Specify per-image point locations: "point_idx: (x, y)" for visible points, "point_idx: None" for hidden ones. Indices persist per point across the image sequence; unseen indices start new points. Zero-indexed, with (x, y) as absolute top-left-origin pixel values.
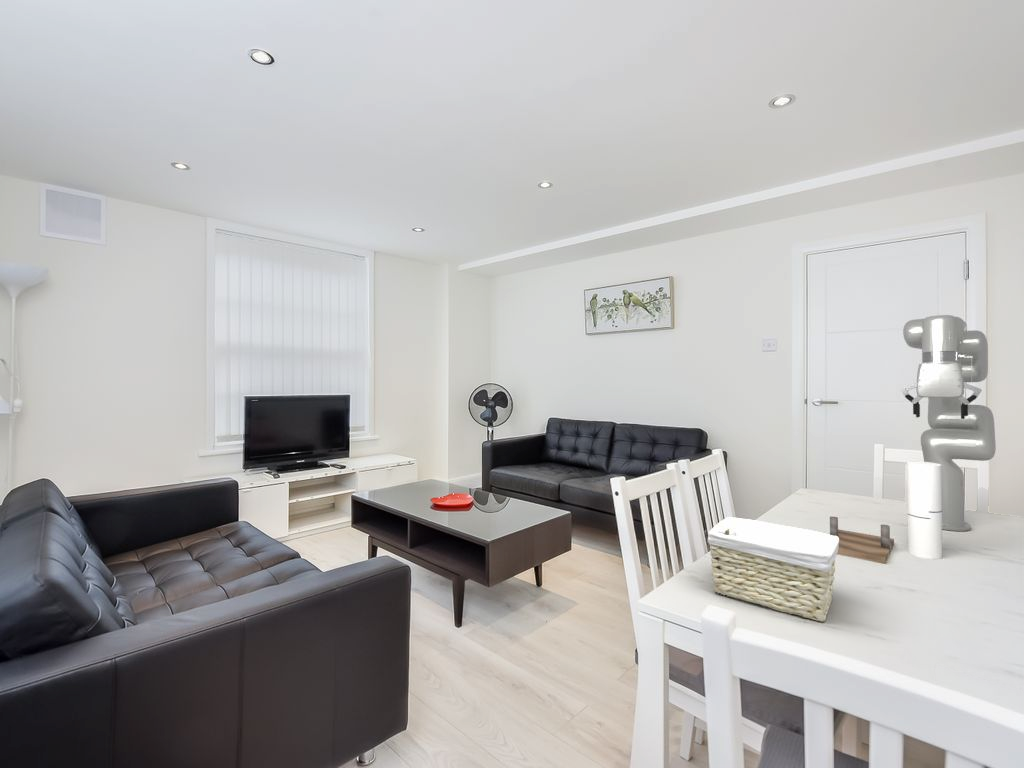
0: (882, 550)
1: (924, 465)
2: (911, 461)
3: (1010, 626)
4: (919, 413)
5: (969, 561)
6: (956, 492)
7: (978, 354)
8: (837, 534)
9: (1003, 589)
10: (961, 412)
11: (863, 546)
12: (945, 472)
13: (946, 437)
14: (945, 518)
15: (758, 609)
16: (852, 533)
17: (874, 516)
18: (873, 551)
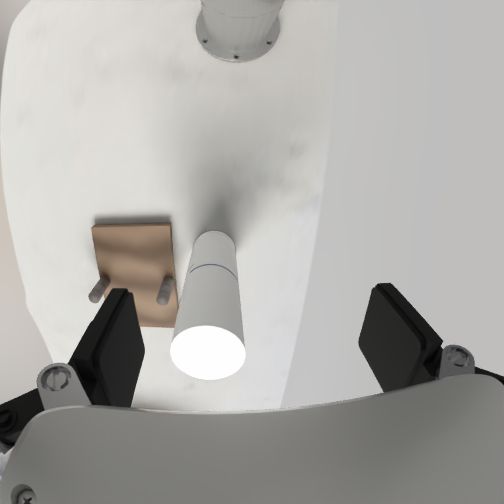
0: (169, 299)
1: (212, 378)
2: (176, 337)
3: (280, 394)
4: (134, 345)
5: (267, 243)
6: (267, 23)
7: None
8: (108, 285)
9: (290, 325)
10: (373, 370)
11: (146, 297)
12: (249, 8)
13: None
14: (240, 47)
15: None
16: (115, 238)
17: (123, 45)
18: (161, 311)
